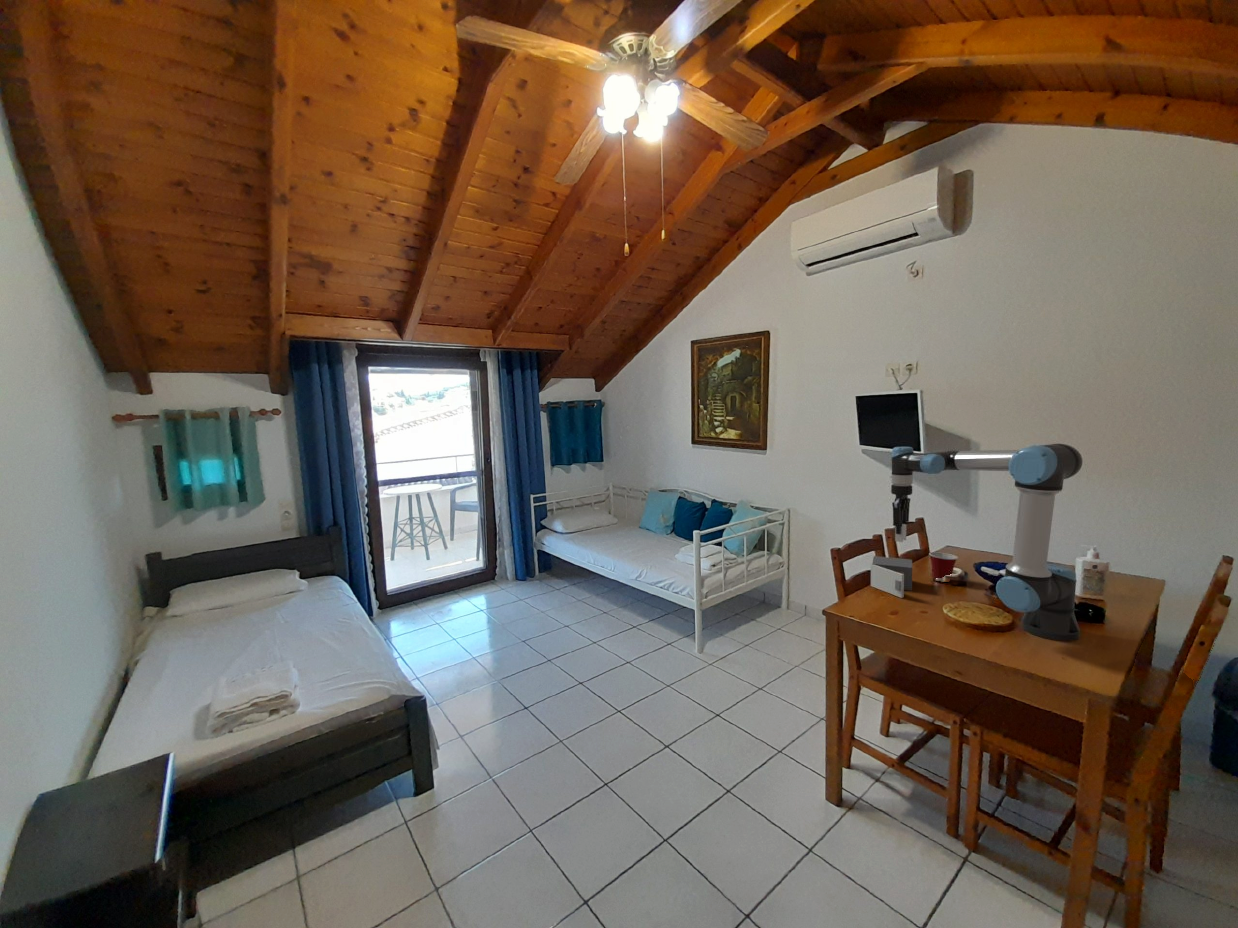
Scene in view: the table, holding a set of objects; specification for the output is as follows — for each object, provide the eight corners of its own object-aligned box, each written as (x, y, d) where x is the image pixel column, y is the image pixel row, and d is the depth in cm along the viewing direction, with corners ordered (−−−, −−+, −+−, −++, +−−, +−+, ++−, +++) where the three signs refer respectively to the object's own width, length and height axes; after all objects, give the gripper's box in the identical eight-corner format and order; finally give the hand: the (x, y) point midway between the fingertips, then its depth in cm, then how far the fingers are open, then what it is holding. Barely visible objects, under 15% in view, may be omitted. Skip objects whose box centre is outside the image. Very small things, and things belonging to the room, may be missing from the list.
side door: (900, 598, 202) (900, 575, 201) (868, 585, 216) (869, 564, 215) (903, 597, 202) (904, 574, 201) (871, 585, 217) (872, 563, 216)
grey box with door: (911, 590, 209) (912, 567, 208) (872, 586, 217) (872, 563, 215) (911, 580, 221) (911, 558, 220) (873, 576, 229) (873, 555, 227)
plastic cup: (963, 583, 215) (964, 556, 214) (942, 586, 213) (943, 559, 211) (942, 575, 226) (942, 549, 224) (922, 578, 223) (922, 552, 222)
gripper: (899, 481, 211) (898, 535, 213) (884, 486, 200) (883, 543, 203) (918, 482, 205) (917, 538, 208) (904, 488, 195) (903, 546, 197)
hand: (900, 540), depth 205 cm, fingers open, 3 cm apart
